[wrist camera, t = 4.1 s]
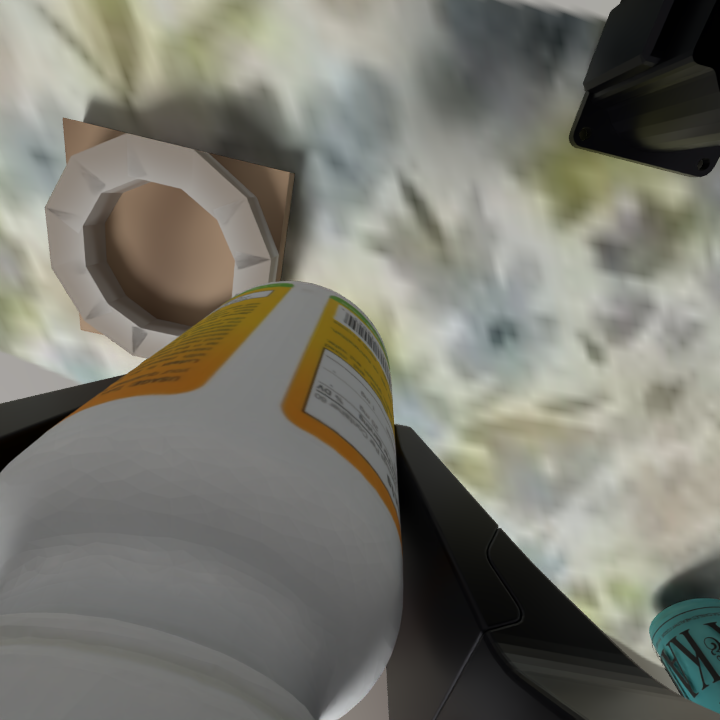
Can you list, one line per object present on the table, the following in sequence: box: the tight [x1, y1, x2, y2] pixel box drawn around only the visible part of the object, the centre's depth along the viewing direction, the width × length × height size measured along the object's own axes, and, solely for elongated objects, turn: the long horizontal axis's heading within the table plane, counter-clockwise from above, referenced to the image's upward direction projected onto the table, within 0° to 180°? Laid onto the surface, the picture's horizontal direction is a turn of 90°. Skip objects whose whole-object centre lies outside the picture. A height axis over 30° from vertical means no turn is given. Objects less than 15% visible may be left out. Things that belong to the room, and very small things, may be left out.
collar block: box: [45, 118, 295, 359], centre depth 19 cm, size 10×10×3 cm
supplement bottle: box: [0, 281, 403, 720], centre depth 7 cm, size 5×5×10 cm
